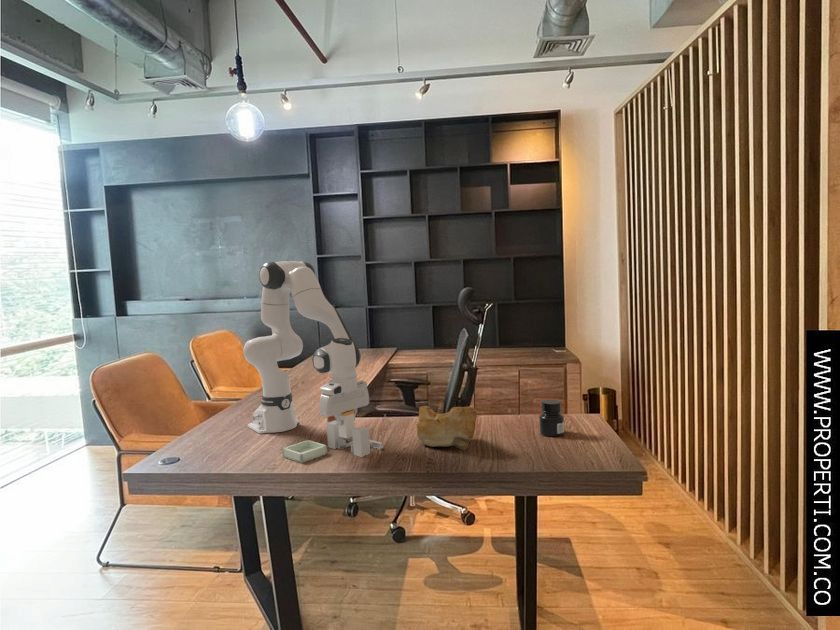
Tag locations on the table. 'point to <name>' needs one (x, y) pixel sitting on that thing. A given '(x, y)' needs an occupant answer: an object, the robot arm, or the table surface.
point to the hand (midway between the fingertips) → (346, 423)
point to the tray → (304, 451)
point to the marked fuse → (347, 424)
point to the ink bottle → (551, 419)
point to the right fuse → (361, 441)
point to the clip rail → (343, 444)
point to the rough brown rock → (446, 427)
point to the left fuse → (333, 434)
